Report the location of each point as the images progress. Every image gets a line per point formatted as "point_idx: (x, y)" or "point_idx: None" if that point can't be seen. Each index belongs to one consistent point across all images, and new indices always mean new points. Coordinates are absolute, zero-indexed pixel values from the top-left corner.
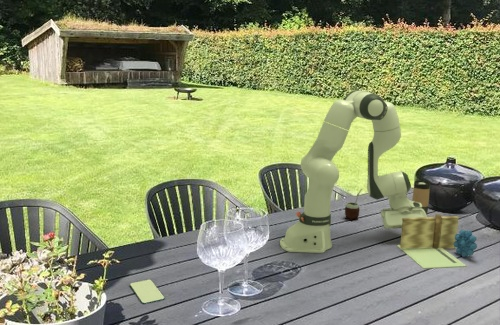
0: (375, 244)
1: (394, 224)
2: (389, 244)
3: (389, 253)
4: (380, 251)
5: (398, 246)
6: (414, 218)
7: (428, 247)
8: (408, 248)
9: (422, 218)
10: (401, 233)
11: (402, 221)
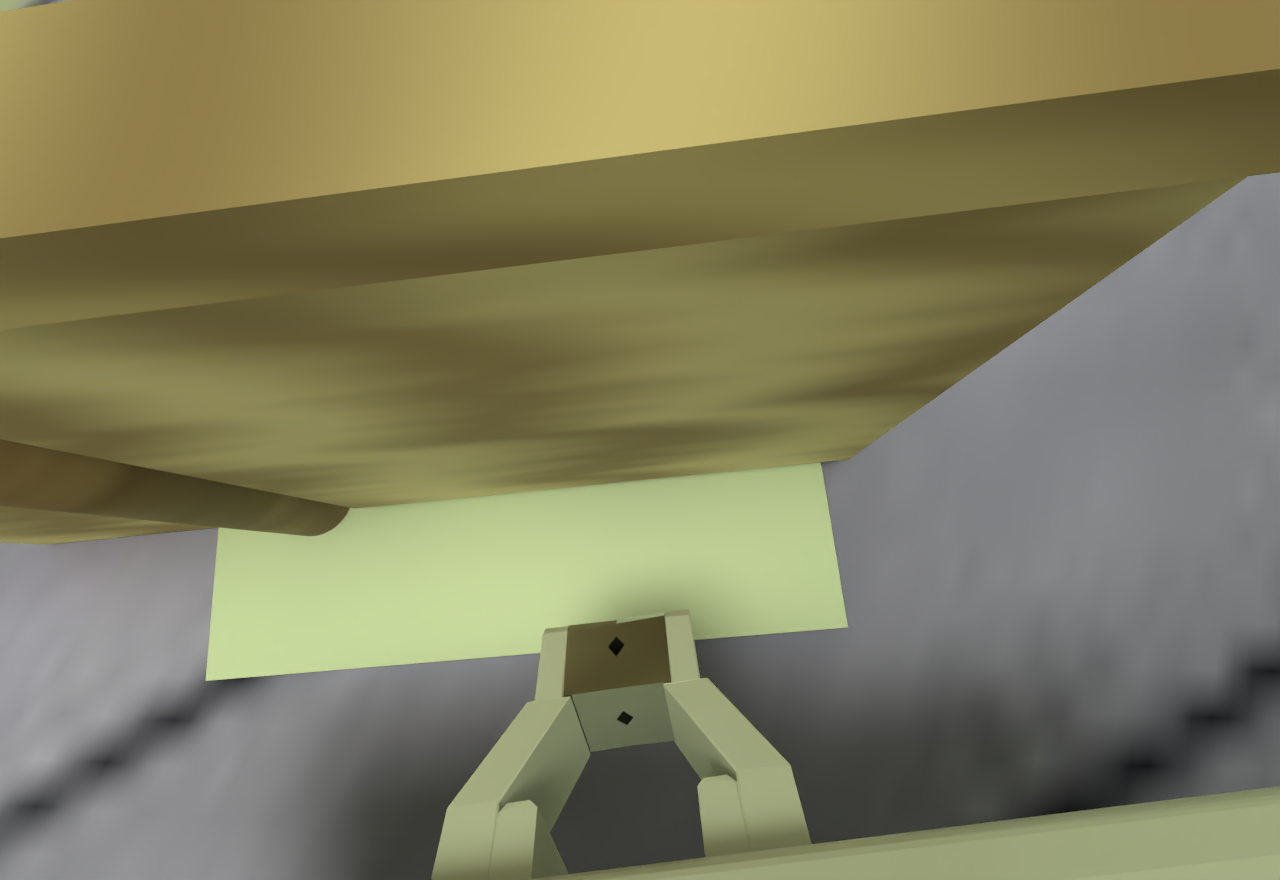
0: (1207, 705)
1: (1201, 836)
2: (954, 695)
3: (1029, 335)
4: (1156, 405)
5: (836, 570)
6: (594, 17)
7: (400, 510)
8: (709, 475)
9: (86, 38)
10: (950, 381)
11: (1256, 161)
